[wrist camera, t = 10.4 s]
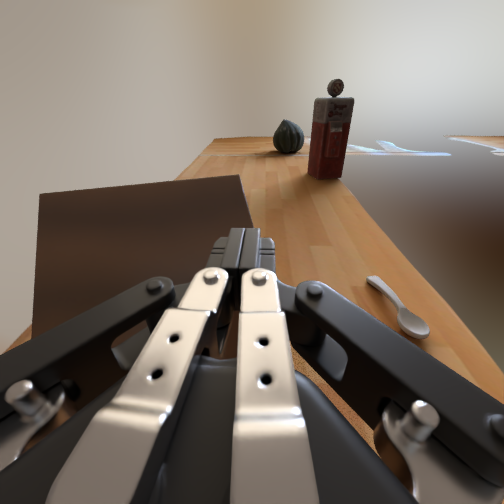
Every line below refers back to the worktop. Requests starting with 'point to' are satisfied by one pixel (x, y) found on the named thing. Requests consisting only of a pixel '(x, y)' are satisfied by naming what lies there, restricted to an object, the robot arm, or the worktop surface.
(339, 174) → the vintage gas pump
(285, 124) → the squash
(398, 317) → the spoon
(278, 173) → the worktop surface
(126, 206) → the lid
